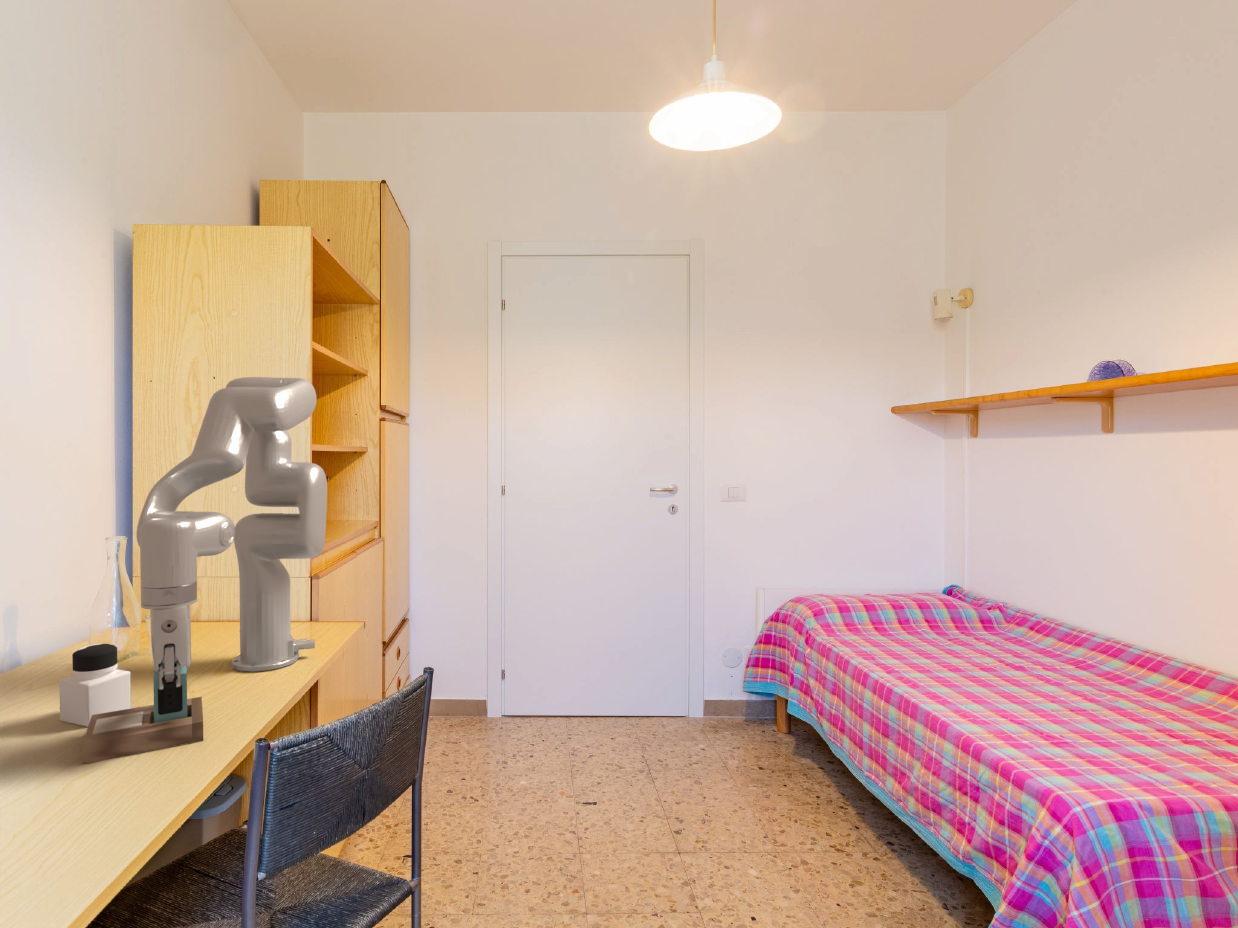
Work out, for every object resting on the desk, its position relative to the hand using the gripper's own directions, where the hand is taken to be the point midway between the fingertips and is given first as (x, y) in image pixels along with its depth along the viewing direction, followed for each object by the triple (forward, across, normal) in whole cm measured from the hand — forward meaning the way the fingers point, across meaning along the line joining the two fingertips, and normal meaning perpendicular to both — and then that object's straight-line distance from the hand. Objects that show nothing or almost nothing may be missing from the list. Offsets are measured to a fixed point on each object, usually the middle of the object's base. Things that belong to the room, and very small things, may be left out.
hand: (170, 703), depth 109 cm
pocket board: (+5, 0, +3) cm, 6 cm away
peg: (+5, 0, 0) cm, 5 cm away
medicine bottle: (+5, +14, +11) cm, 18 cm away
